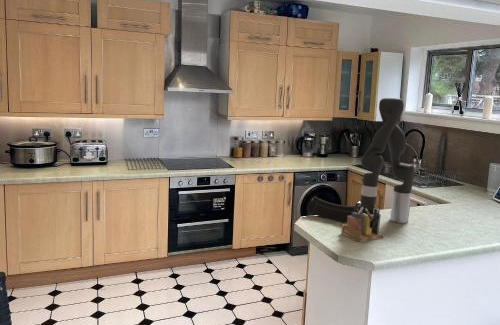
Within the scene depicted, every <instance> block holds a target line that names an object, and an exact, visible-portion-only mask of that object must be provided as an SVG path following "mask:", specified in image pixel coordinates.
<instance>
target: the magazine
mask: <svg viewBox="0 0 500 325" xmlns="http://www.w3.org/2000/svg"><path fill="white" fill-rule="evenodd" d="M355 207H356V205H352V206H351V205H349V206H348V205H342V204H336V203H333V202H330V201H326V200H323V199H321V198H319V197H317V196H316V195H315V196H314V197H313V198H311V201H310V202H308V205H307V206H306V210H307V211H308V212H309V213H311V216H313V215H315V216H317V217H321V218H323V219H327V220H330V221H332V222H333V221H334V222H339V223H343V224H347V216H351V215H352V213H353V212H355Z"/></svg>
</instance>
